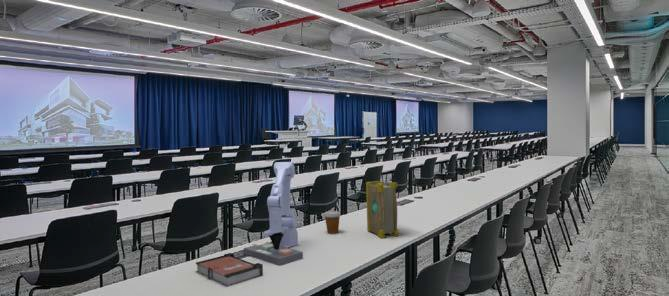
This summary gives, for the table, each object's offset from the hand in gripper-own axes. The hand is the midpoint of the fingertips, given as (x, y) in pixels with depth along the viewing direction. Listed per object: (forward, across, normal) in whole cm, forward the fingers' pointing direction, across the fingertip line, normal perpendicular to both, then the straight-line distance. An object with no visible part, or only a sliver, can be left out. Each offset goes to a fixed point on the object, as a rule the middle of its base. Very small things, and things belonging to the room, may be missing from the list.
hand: (276, 248), depth 198 cm
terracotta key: (+2, +1, +6) cm, 7 cm away
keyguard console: (+4, 0, -3) cm, 5 cm away
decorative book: (+4, -64, +21) cm, 67 cm away
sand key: (+2, -2, -13) cm, 13 cm away
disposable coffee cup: (+4, -52, -6) cm, 53 cm away
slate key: (+2, 0, 0) cm, 2 cm away
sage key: (+2, -1, -6) cm, 7 cm away
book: (+5, +28, -2) cm, 28 cm away
